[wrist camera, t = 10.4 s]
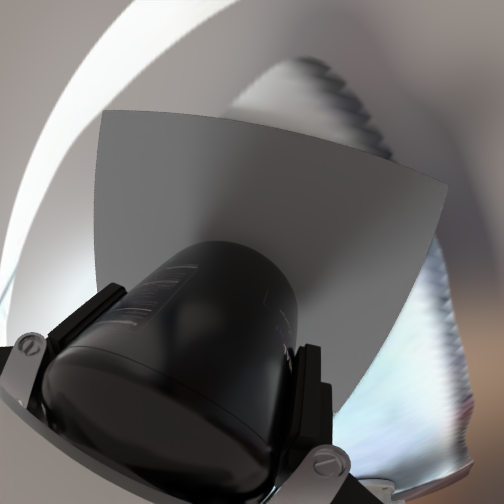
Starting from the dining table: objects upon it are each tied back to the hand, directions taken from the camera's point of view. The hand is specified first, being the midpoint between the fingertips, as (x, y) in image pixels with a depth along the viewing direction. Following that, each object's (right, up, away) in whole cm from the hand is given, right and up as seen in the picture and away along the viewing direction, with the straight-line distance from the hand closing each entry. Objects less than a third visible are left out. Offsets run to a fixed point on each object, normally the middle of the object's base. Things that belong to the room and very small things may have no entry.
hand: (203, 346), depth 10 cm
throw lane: (+1, +1, +5) cm, 5 cm away
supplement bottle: (+1, +1, +3) cm, 3 cm away
